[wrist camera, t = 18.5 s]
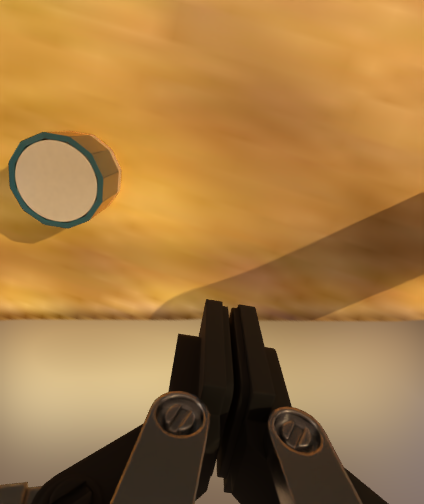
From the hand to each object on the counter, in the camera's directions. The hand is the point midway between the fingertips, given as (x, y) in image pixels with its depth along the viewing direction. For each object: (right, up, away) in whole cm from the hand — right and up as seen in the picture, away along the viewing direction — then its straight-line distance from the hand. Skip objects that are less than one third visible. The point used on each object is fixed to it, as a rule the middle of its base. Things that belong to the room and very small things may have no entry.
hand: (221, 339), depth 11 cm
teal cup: (-14, +9, +17) cm, 24 cm away
